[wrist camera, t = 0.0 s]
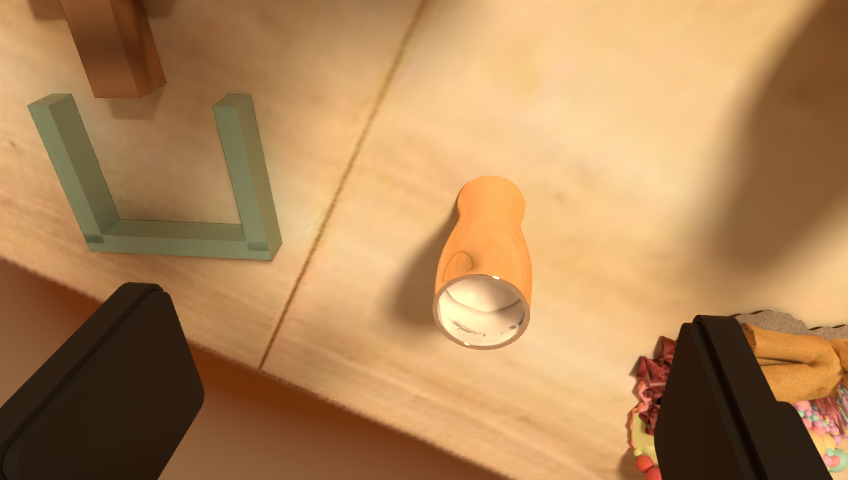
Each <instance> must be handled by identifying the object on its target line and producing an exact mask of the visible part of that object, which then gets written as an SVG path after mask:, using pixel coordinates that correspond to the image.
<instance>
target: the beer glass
mask: <svg viewBox="0 0 848 480" xmlns="http://www.w3.org/2000/svg"><path fill="white" fill-rule="evenodd" d="M525 208H526V204H525V199H524V196H523V194H522V192H521V191H520V189H519V188H518V187H517V186H516V185H515V184H514V183H513V182H511V181H510V180H508V179H506V178H503V177H499V176H482V177H478V178H476V179H474V180H472V181H470V182H469V183H468V184H466V185H465V186H464V188H463V189H462V190H461V192H460V194H459V196H458V200H457V214H458V222H457V224H456V226H455V227H454V229H453V231H452V233H451V234H450V236H449V238H448V240H447V242H446V244H445V246H444V248H443V251H442V253H441V256H440V260H439V263H438V267H437V273H436V279H435V288H434V300H433V305H432V313H433V318H434V321H435V323H436V325H437V327H438V328H439V330H440V331H441V332H442V333H443V334H444V335H445V336H446V337H447V338H449V339H450V340H452V341H453V342H455V343H457V344H459V345H461V346H464V347H467V348H471V349H478V350H491V349H497V348H501V347H504V346H507V345H509V344H511V343H512V342H514V341H516V340H517V339H518V338H519V337H520V336H521V335H522V334H523V333H524V331H525V330H526V328H527V326H528V323H529V320H530V305H531V296H532V265H531V259H530V255H529V251H528V247H527V244H526V241H525V238H524V235H523V233H522V229H521V223H522V220H523V218H524V214H525Z"/></svg>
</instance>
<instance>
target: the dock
mask: <svg viewBox="0 0 848 480" xmlns="http://www.w3.org/2000/svg"><path fill="white" fill-rule="evenodd" d="M27 106H28V109H29V111H30V113H31V116H32V118H33V120H34V122H35V125H36V127H37V129H38V132H39V134H40V136H41V139H42V141H43V143H44V145H45V148H46V150H47V152H48V155H49V157H50V159H51V162H52V164H53V166H54V169H55V171H56V173H57V175H58V178H59V180H60V182H61V185H62V187H63V189H64V192H65V194H66V196H67V198H68V201H69V203H70V205H71V208H72V210H73V212H74V215H75V217H76V219H77V221H78V224H79V226H80V228H81V231H82V233H83V235H84V238H85V240H86V242H87V244H88V247H89V249H90V251H94V252H114V253H134V254H155V255H175V256H195V257H215V258H236V259H256V260H271V259H272V258H273V256H274V255H275V253H276V252H277V250H278V249H279V247H280V246H281V244H282V240H281V235H280V230H279V226H278V221H277V216H276V212H275V207H274V202H273V197H272V193H271V188H270V183H269V179H268V174H267V169H266V165H265V160H264V155H263V151H262V146H261V141H260V137H259V132H258V127H257V122H256V118H255V113H254V108H253V104H252V99H251V95H227V96H226V97H225V98H223V99H222V100H221V101H219V102H218V103H217V104H215V105H214V106H213V111H214V115H215V119H216V123H217V127H218V131H219V135H220V138H221V142H222V146H223V150H224V154H225V158H226V162H227V166H228V170H229V174H230V178H231V182H232V186H233V190H234V194H235V198H236V202H237V206H238V210H239V213H240V217H241V221H242V224H219V223H194V222H168V221H143V220H120V219H119V216H118V213H117V211H116V208H115V206H114V203H113V200H112V198H111V195H110V193H109V190H108V187H107V185H106V182H105V180H104V177H103V175H102V172H101V169H100V167H99V164H98V162H97V159H96V156H95V154H94V151H93V149H92V146H91V144H90V141H89V138H88V136H87V133H86V131H85V128H84V125H83V123H82V120H81V118H80V115H79V112H78V110H77V107H76V105H75V102H74V100H73V97H72V94H51V95H48V96H46V97H44V98H42V99H40V100H37V101H35V102H33V103H31V104H29V105H27Z"/></svg>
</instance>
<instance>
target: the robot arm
mask: <svg viewBox="0 0 848 480" xmlns="http://www.w3.org/2000/svg"><path fill="white" fill-rule="evenodd" d="M203 401H204V388H203V385H202V382H201V380H200V377H199V374H198V372H197V369H196V366H195V363H194V360H193V358H192V355H191V352H190V349H189V346H188V344H187V341H186V338H185V335H184V333H183V330H182V327H181V324H180V322H179V319H178V316H177V313H176V311H175V308H174V305H173V302H172V300H171V297H170V295H169V294H168V293H167V292H164V291H163V289H162V287H160V286H159V285H158V284H151V283H134V282H128V283H124V284H123V285H121V286H120V287H119V288H118V289H117V290H116V291H115V292H114V293H113V294H112V295H111V296H110V297H109V298H108V299H107V300H106V301H105V302H104V303H103V304H102V305H101V306H100V307H99V308H98V309H97V310H96V311H95V312H94V313H93V315H91V316H90V317H89V318H88V320H87V321H86V322H85V323H84V324H83V325H82V326H81V327H80V328H79V329H78V330H77V331H76V332H75V333H74V334H73V335H72V336H71V337H70V338H69V339H68V340H67V341H66V342H65V343H64V344H63V345H62V346H61V347H60V348H59V349H58V350H57V351H56V352H55V353H54V354H53V355H52V356H51V357H50V358H49V359H48V360H47V361H46V362H45V363H44V364H43V365H42V366H41V367H40V368H39V369H38V370H37V371H36V372H35V373H34V374H33V375H32V376H31V377H30V378H29V379H28V380H27V381H26V382H25V383H24V384H23V386H21V388H19V389H18V390H17V392H16V393H15V394H14V395H13V396H12V397H11V398H10V399H9V400H8V401H7V402H6V403H5V404H4V405H3V406H2V407H1V408H0V480H157V479H158V478H159V476H160V475H161V473H162V471H163V470H164V468H165V466H166V465H167V463H168V461H169V460H170V458H171V456H172V455H173V453H174V451H175V450H176V448H177V446H178V445H179V443H180V441H181V440H182V438H183V437H184V435H185V433H186V431H187V430H188V428H189V427H190V425H191V423H192V422H193V420H194V419H195V417H196V415H197V414H198V412H199V410H200V409H201V407H202V404H203ZM654 447H655V452H656V457H657V461H658V465H659V470H660V474H661V478H662V480H833V479H832V477H831V475H830V473H829V471H828V469H827V467H826V465H825V463H824V461H823V459H822V457H821V455H820V453H819V451H818V450H817V448H816V446H815V444H814V442H813V440H812V438H811V436H810V434H809V432H808V430H807V428H806V426H805V424H804V422H803V420H802V418H801V416H800V415H799V413H798V412H797V410H796V409H795V407H794V406H792V405H791V404H790V403H789V402H784V401H777V400H776V398H775V396H774V394H773V392H772V390H771V388H770V386H769V384H768V382H767V379H766V377H765V375H764V373H763V371H762V369H761V367H760V365H759V363H758V361H757V359H756V357H755V355H754V353H753V351H752V349H751V346H750V344H749V342H748V340H747V338H746V336H745V334H744V332H743V330H742V328H741V326H740V324H739V322H738V321H737V319H736V318H734V317H726V316H709V315H697V316H696V317H695V318H694V320H693V322H692V323H683V325H682V326H681V329H680V333H679V337H678V340H677V344H676V348H675V352H674V356H673V359H672V363H671V367H670V371H669V375H668V379H667V382H666V386H665V390H664V394H663V398H662V401H661V405H660V409H659V413H658V417H657V421H656V424H655V429H654Z"/></svg>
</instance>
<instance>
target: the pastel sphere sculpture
mask: <svg viewBox="0 0 848 480" xmlns="http://www.w3.org/2000/svg"><path fill="white" fill-rule="evenodd" d="M734 318H736V319H737V321H738V322H739V324H740V326H741V328H742V330H743V332H744V334H745V336H746V338H747V340H748V342H749V344H750V346H751V349H752V351H753V353H754V355H755V357H756V359H757V361H758V363H759V365H760V367H761V369H762V371H763V373H764V375H765V377H766V379H767V382H768V384H769V386H770V388H771V390H772V392H773V394H774V396H775V398H776V400H777V401H784V402H789V403H790V404H791V405H792V406H794V407H795V409H796V410H797V412H798V413H799V415H800V416H801V418H802V420H803V422H804V424H805V426H806V428H807V430H808V432H809V434H810V436H811V438H812V440H813V442H814V444H815V446H816V448H817V450H818V451H819V453H820V455H821V457H822V459H823V461H824V463H825V465H826V467H827V469H828V471H829V472H834V473H836V472H840V471H842V470H844V469H845V468H846V467H847V465H848V456H847V454H846V453H845V452H844V451H843V450H840V449H838V448H835V447H836V446H837V445H839V444H840V443H841V438H843V439H848V436H847V435H848V325H846V326H842V327H839V328H831V327H822V328H818V329H815V330H808V329H807V328H806V326H805V324H804V322H802V321H801V320H795V319H794V318H793V317H792V316H791V315H790V314H784V313H781V312H774V311H770V310H768V311H763V312H760V313H757V314H754V315H750V314H741V315H738V316H736V317H734ZM676 344H677V342H676V341H673V340H671V339H669V338H666V337H664V336H662V345H663V358H661V359H658V360H654V361H652V360H650V359H648V358H646V357H645V356H643V358H642V361H641V364H640V367H639V370H638V373H637V377H638V378H639V379H641V381H640V384H639V385H638V392H639V395H640V396H641V398H642V399H643V400H644V401H643V402H641V403H639V405H638V407H636V408H634V409H632V417H631V419H630V421H629V425H630V429H631V438H630V439H631V444H632V446H633V447H634V451H633V454H634V456H636V457H638V458H637V460H636V466H637V469H638V470H639V471H640V472H642V473H646V480H662V478H661V474H660V470H659V467H654V464H655V465H658V461H657V457H656V452H655V447H654V429H655V424H656V421H657V417H658V413H659V409H660V405H661V401H662V398H663V394H664V390H665V386H666V382H667V379H668V375H669V371H670V367H671V363H672V359H673V356H674V352H675V348H676Z"/></svg>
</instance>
